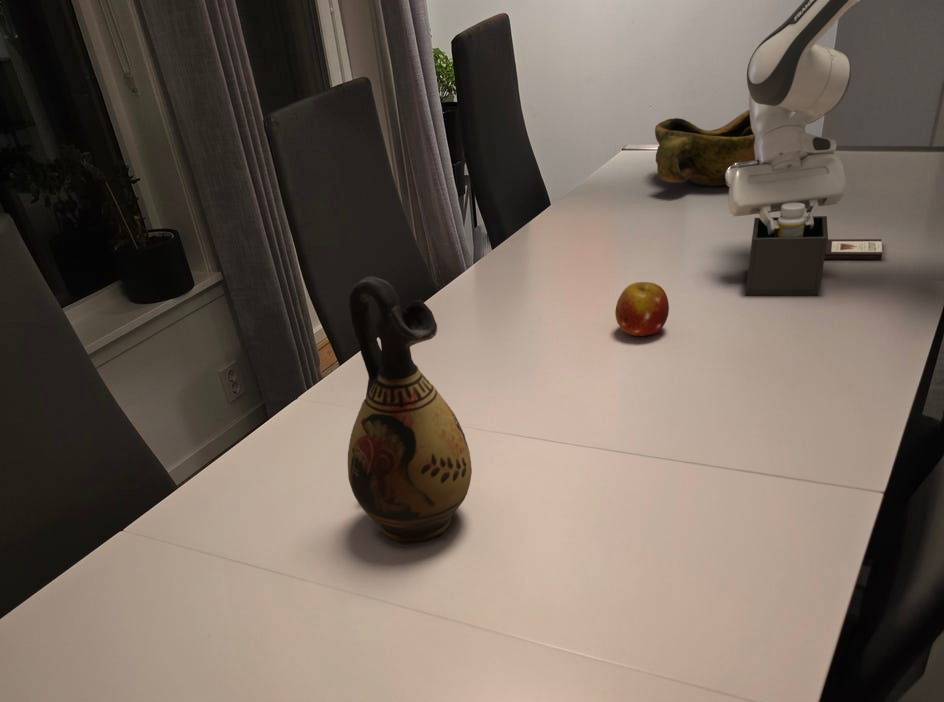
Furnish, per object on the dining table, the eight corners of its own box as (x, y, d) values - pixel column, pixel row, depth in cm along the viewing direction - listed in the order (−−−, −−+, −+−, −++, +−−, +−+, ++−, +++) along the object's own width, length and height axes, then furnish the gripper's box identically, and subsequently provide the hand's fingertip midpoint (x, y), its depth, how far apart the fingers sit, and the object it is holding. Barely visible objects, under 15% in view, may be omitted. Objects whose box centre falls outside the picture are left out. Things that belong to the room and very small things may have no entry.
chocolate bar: (785, 239, 171) (881, 239, 166) (784, 244, 172) (880, 244, 166) (782, 254, 165) (882, 254, 160) (782, 259, 166) (880, 259, 160)
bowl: (680, 156, 232) (681, 94, 222) (789, 154, 219) (795, 87, 208) (627, 210, 210) (625, 144, 200) (745, 210, 197) (749, 139, 186)
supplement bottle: (775, 250, 156) (782, 201, 150) (802, 251, 154) (809, 201, 149) (770, 258, 153) (777, 209, 147) (797, 259, 151) (805, 209, 145)
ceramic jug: (502, 514, 108) (482, 275, 88) (414, 571, 100) (370, 324, 81) (415, 474, 118) (379, 251, 98) (329, 523, 110) (272, 293, 91)
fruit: (666, 343, 142) (669, 295, 137) (613, 344, 144) (613, 297, 139) (668, 321, 149) (670, 274, 144) (616, 322, 151) (617, 276, 146)
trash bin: (817, 271, 159) (826, 215, 153) (818, 295, 151) (828, 237, 144) (748, 271, 163) (754, 217, 156) (745, 295, 154) (751, 239, 148)
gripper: (728, 153, 148) (738, 228, 147) (844, 138, 147) (855, 213, 147) (719, 175, 155) (728, 246, 154) (830, 161, 154) (840, 233, 153)
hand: (791, 230), depth 150 cm, fingers closed on supplement bottle, 5 cm apart
